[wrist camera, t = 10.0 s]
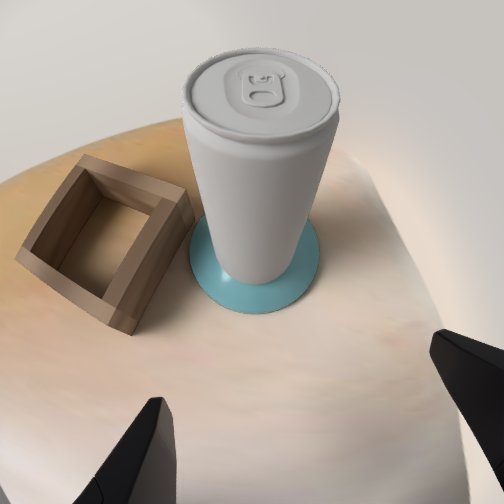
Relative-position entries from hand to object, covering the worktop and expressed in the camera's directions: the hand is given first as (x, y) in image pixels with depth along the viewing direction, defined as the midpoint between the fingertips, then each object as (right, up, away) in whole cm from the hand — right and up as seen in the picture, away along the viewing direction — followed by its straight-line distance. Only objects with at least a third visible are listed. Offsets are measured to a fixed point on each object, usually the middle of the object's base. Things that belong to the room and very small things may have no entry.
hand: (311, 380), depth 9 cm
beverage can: (-2, +4, +10) cm, 11 cm away
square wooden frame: (-11, +4, +11) cm, 16 cm away
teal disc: (-2, +4, +11) cm, 12 cm away
